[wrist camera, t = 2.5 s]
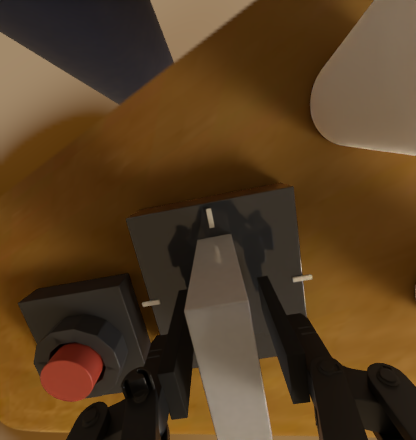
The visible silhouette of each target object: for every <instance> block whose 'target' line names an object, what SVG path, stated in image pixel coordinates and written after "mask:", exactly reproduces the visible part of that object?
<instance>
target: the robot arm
mask: <svg viewBox="0 0 416 440" xmlns="http://www.w3.org/2000/svg"><path fill="white" fill-rule="evenodd" d="M257 282H258V289H259V295H260V301H261V308H262V312H263V315H264V318H265V321H266V324H267V327H268V330H269V333H270V336H271V339H272V342H273V345H274V348H275V351H276V354H277V357H278V360H279V363H280V366H281V369H282V372H283V375H284V378H285V381H286V384H287V387H288V390H289V393H290V396H291V399H292V402H293V404H298V403H306V402H310V396H311V399H312V401H313V404H314V410H315V419H316V425H317V428H318V434H319V440H368V438H367V435H366V432H365V429H366V430H370V431H373V433H374V435H375V436H376V438H377V440H416V387H415V386H414V384H413V383H412V382H411V381H410V380H409V379H408V378H407V377H406V376H405V375H404V374H403V373H402V372H401V371H400V370H398V369H396V368H394V367H393V366H390V365H387V364H384V363H375V364H372V365H370V366H369V367H368V369H367V371H362V370H356V369H351V368H347V367H345V366H342V365H341V364H340V363H339V362H338V361H337V360H335V359H333V358H332V357H331V355H330V354H329V352H328V350H327V349H326V347H325V345H324V344H323V342H322V341H321V339H320V337H319V336H318V334H317V333H316V331H315V329H314V327H313V326H312V324H311V323H310V321H309V319H308V318H307V317H305V316H304V315H303V314H301V313H297V314H291V315H286V313H285V311H284V309H283V307H282V305H281V303H280V301H279V299H278V296H277V294H276V292H275V290H274V288H273V286H272V284H271V282H270V280H269V278H268V276H262V277H257ZM187 293H188V289H185V290H179V292H178V296H177V299H176V303H175V307H174V311H173V315H172V319H171V323H170V326H169V330H168V334H165V335H159V336H156V338H155V339H154V340H153V342H152V343H151V346H150V349H149V352H148V355H147V359H146V361H145V364H144V367H138V368H135V369H134V370H132V371H130V372H129V373H128V374H127V375H126V376H125V377H124V379H123V380H122V383H121V388H122V391H123V394H124V396H125V399H124V400H122V401H121V402H118V403H116V404H114V405H112V406H110V407H107V405H106V404H105V403H104V402H96V403H93V404H91V405H90V406H88V407H87V408H86V409H85V410H84V411H83V412H82V413H81V414H80V415H79V417H78V418H77V420H76V422H75V424H74V426H73V428H72V429H71V431H70V433H69V435H68V437H67V439H66V440H170V434H169V427H168V424H167V420H168V414H169V413H170V416H171V419H172V420H173V419H181V418H187V417H188V406H189V396H190V386H191V375H192V365H193V355H194V348H193V344H192V340H191V337H190V333H189V329H188V325H187V321H186V317H185V313H184V309H185V303H186V298H187Z"/></svg>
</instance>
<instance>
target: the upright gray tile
mask: <svg viewBox="0 0 416 440" xmlns="http://www.w3.org/2000/svg"><path fill="white" fill-rule="evenodd" d="M184 313H185V317H186V321H187V325H188V329H189V333H190V337H191V340H192V344H193V348H194V352H195V356H196V360H197V363H198V367H199V371H200V375H201V379H202V383H203V386H204V390H205V394H206V398H207V402H208V406H209V410H210V413H211V417H212V421H213V425H214V429H215V433H216V436H217V440H273V437H272V431H271V426H270V420H269V414H268V408H267V403H266V397H265V391H264V385H263V380H262V374H261V368H260V362H259V357H258V351H257V345H256V339H255V334H254V328H253V322H252V316H251V311H250V305H249V300H248V296H247V292H246V288H245V285H244V281H243V277H242V273H241V269H240V266H239V262H238V258H237V254H236V250H235V247H234V243H233V239H232V235H231V234H227V235H221V236H216V237H210V238H205V239H199V240H197V245H196V250H195V256H194V261H193V266H192V272H191V277H190V282H189V287H188V293H187V298H186V303H185V309H184Z"/></svg>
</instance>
